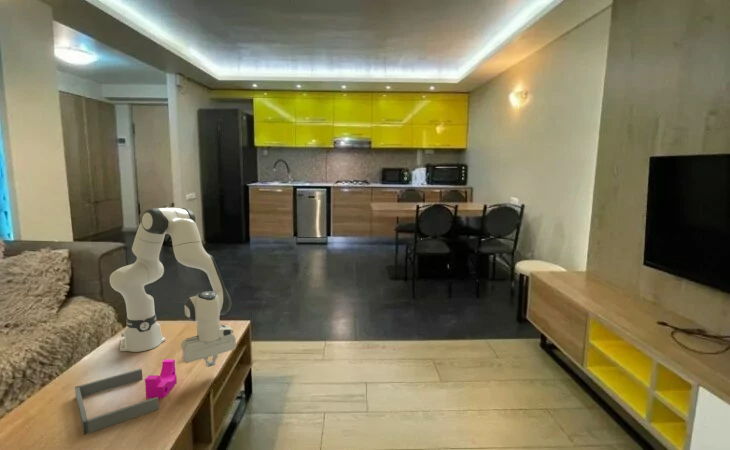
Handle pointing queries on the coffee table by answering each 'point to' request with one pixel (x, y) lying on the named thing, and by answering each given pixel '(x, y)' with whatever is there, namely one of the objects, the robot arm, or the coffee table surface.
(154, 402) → the box
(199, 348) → the robot arm
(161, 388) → the magenta curved bracket
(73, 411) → the coffee table surface
